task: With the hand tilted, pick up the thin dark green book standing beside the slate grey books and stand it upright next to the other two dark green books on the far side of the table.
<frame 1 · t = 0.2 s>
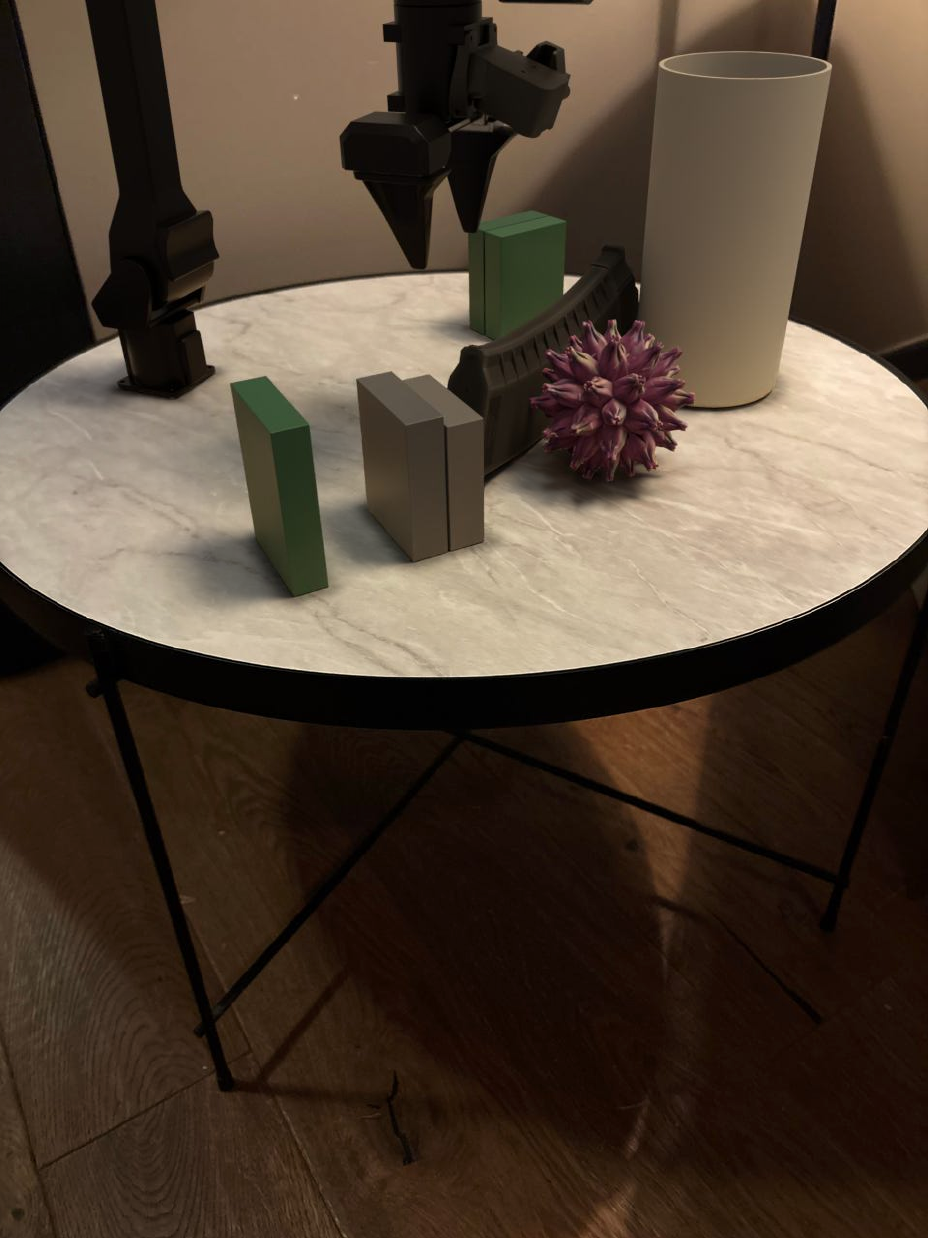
hand: (446, 249, 75), 15 cm above the table, tool pointing down, fingers open, 9 cm apart
green books: (516, 275, 99), on the table
flower: (606, 472, 78), on the table
cylinder vase: (702, 382, 91), on the table
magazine: (548, 418, 85), on the table
green book: (290, 561, 68), on the table
grey books: (421, 461, 69), on the table
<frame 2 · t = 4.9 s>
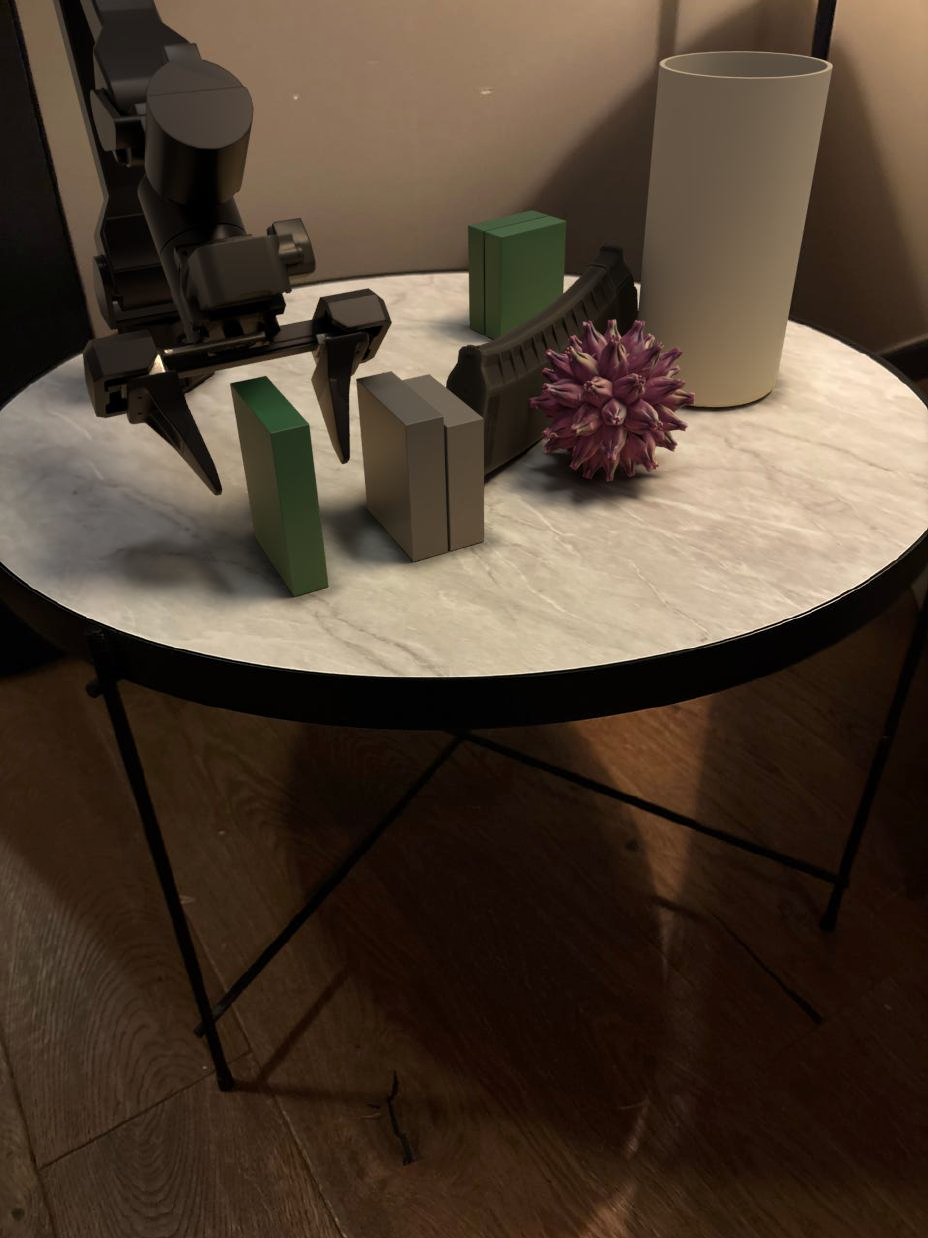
hand: (284, 477, 63), 7 cm above the table, tool tilted 45°, fingers open, 8 cm apart
nothing on the table moved.
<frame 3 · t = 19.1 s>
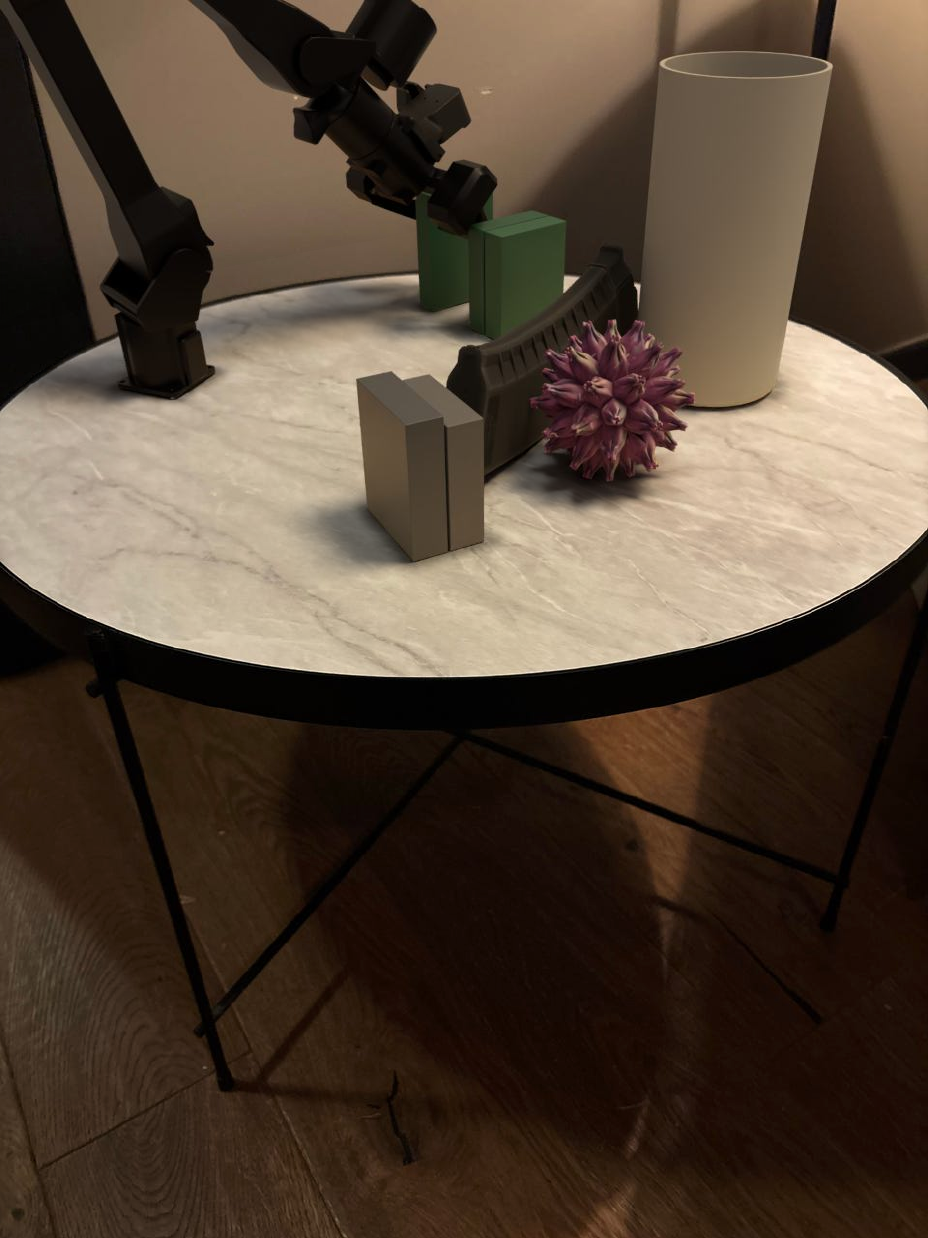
hand: (466, 233, 105), 7 cm above the table, tool tilted 45°, fingers open, 8 cm apart
green book: (456, 300, 108), on the table
everything else where it was.
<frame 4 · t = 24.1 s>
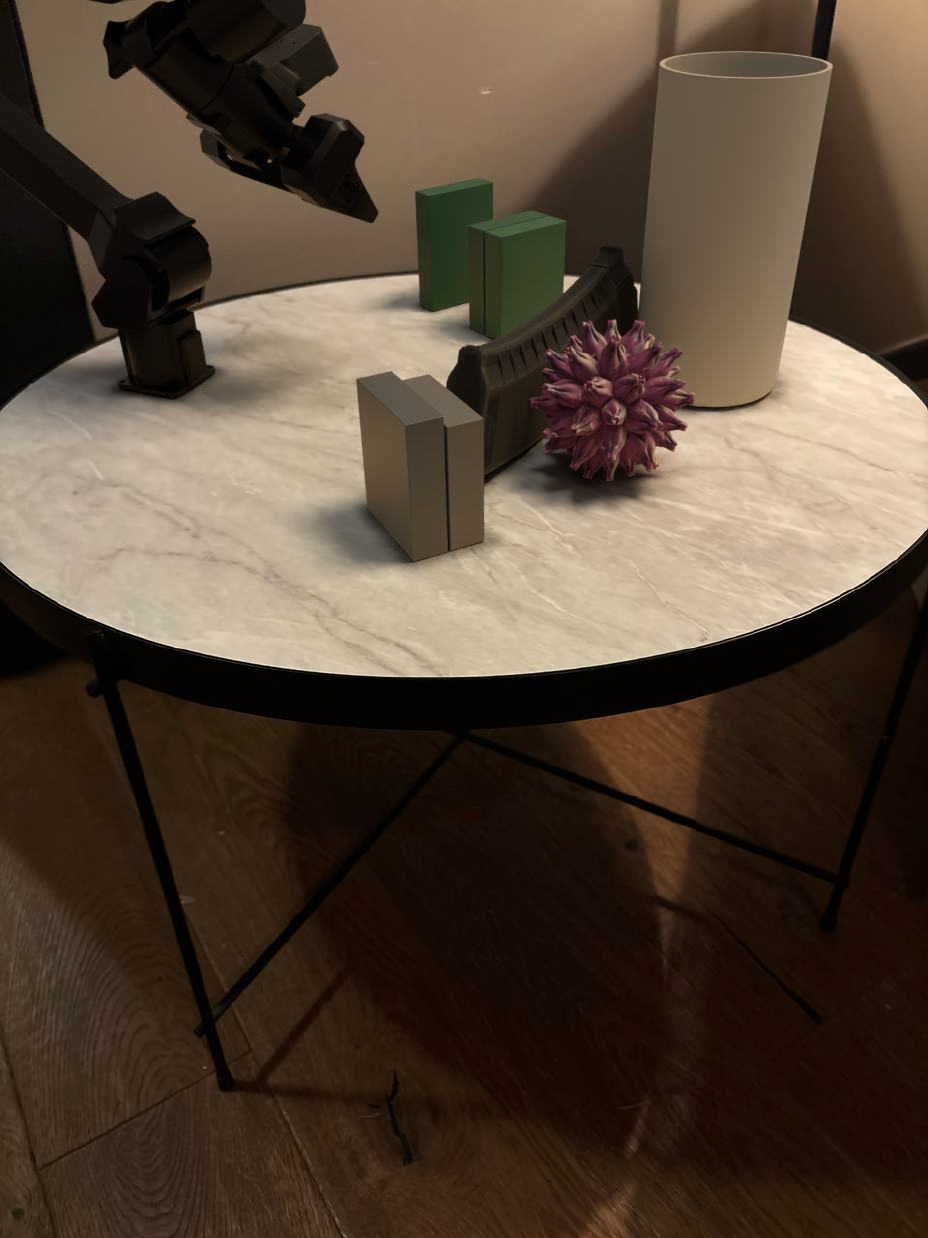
hand: (346, 206, 88), 14 cm above the table, tool tilted 45°, fingers open, 9 cm apart
nothing on the table moved.
at the end: green book 0.1 cm from the green books (horizontally); green book tilted 0°; the gripper is holding nothing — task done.
